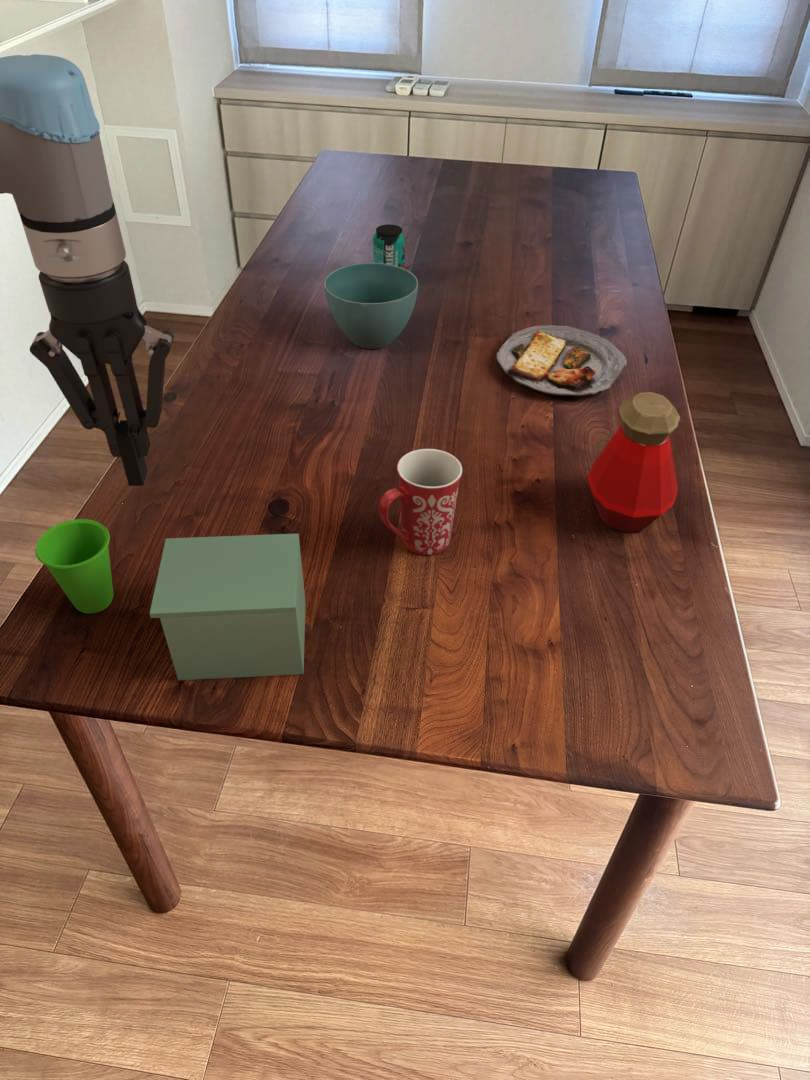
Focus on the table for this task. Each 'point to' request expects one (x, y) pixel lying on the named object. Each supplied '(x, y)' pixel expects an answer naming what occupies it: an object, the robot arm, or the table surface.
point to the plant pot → (371, 301)
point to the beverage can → (389, 245)
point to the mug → (424, 500)
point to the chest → (239, 642)
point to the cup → (79, 562)
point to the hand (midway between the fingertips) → (138, 477)
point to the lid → (227, 576)
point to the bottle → (637, 465)
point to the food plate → (561, 360)
